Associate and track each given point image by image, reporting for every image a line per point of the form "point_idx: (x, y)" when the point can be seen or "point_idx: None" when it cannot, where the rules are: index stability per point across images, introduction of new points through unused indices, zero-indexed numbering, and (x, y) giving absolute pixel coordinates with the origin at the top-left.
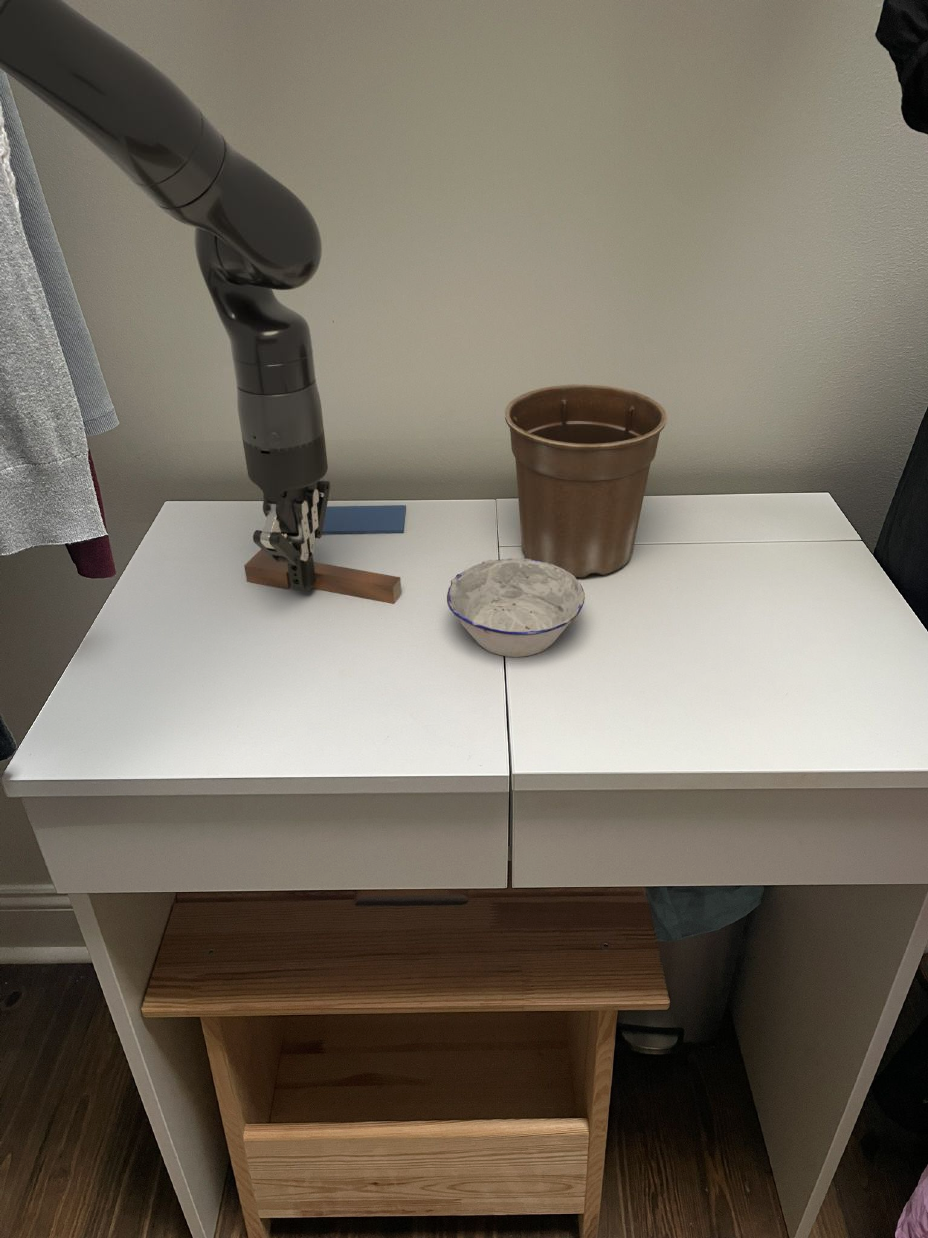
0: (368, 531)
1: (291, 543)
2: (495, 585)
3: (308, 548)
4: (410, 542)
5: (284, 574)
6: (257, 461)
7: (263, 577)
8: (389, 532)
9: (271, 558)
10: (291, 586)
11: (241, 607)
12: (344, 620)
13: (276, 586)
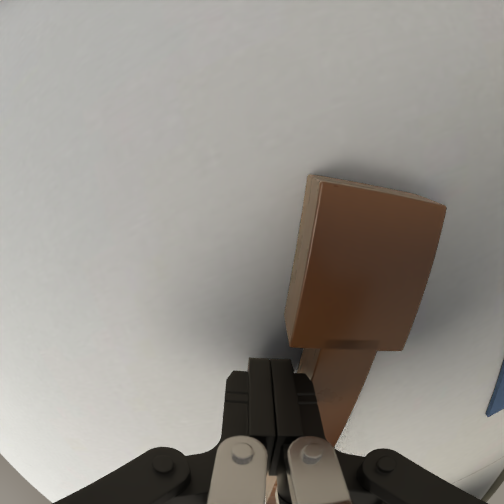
0: (502, 373)
1: (287, 474)
2: None
3: (276, 495)
4: (456, 433)
5: (289, 338)
6: None
7: (300, 249)
8: (491, 398)
9: (125, 465)
10: (249, 358)
11: (163, 218)
12: (191, 438)
13: (290, 280)
